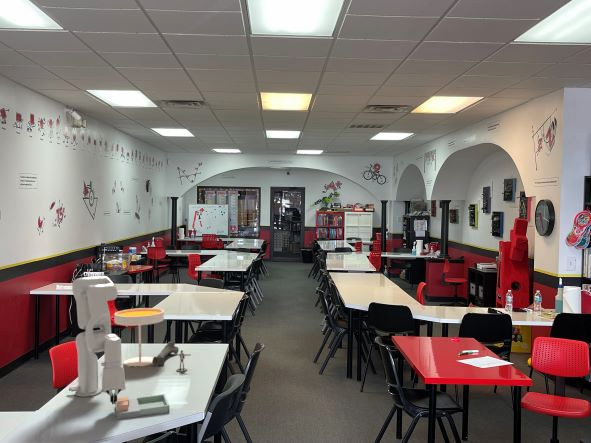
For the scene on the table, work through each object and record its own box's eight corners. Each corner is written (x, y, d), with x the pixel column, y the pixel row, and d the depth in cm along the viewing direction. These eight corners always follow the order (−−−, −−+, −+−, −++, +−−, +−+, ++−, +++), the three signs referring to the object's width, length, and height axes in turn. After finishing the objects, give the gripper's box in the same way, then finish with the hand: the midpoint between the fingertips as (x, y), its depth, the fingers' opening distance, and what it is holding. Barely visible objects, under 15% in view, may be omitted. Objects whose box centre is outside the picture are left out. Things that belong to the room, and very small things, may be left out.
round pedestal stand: (173, 361, 332) (173, 311, 332) (129, 372, 312) (128, 318, 311) (149, 353, 353) (149, 306, 353) (106, 362, 333) (106, 312, 332)
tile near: (116, 411, 242) (116, 405, 242) (116, 407, 246) (116, 402, 246) (128, 409, 243) (128, 404, 243) (127, 406, 248) (127, 400, 248)
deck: (117, 419, 239) (117, 413, 239) (115, 406, 255) (115, 401, 255) (140, 416, 242) (140, 410, 242) (137, 403, 258) (137, 398, 258)
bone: (165, 353, 354) (165, 339, 354) (179, 353, 354) (179, 339, 353) (148, 367, 322) (148, 352, 322) (164, 367, 321) (163, 352, 321)
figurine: (192, 369, 315) (192, 349, 315) (188, 372, 309) (188, 352, 309) (174, 368, 317) (174, 348, 317) (170, 372, 311) (170, 351, 310)
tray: (140, 416, 242) (140, 409, 242) (137, 403, 258) (137, 397, 258) (169, 411, 247) (169, 405, 247) (164, 400, 263) (164, 394, 263)
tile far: (117, 406, 247) (117, 401, 247) (117, 403, 252) (117, 398, 252) (129, 405, 249) (129, 399, 249) (128, 401, 254) (128, 396, 254)
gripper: (96, 368, 243) (96, 408, 243) (130, 364, 248) (131, 403, 248) (96, 363, 250) (96, 403, 250) (129, 360, 255) (130, 398, 255)
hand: (113, 403), depth 249 cm, fingers closed
